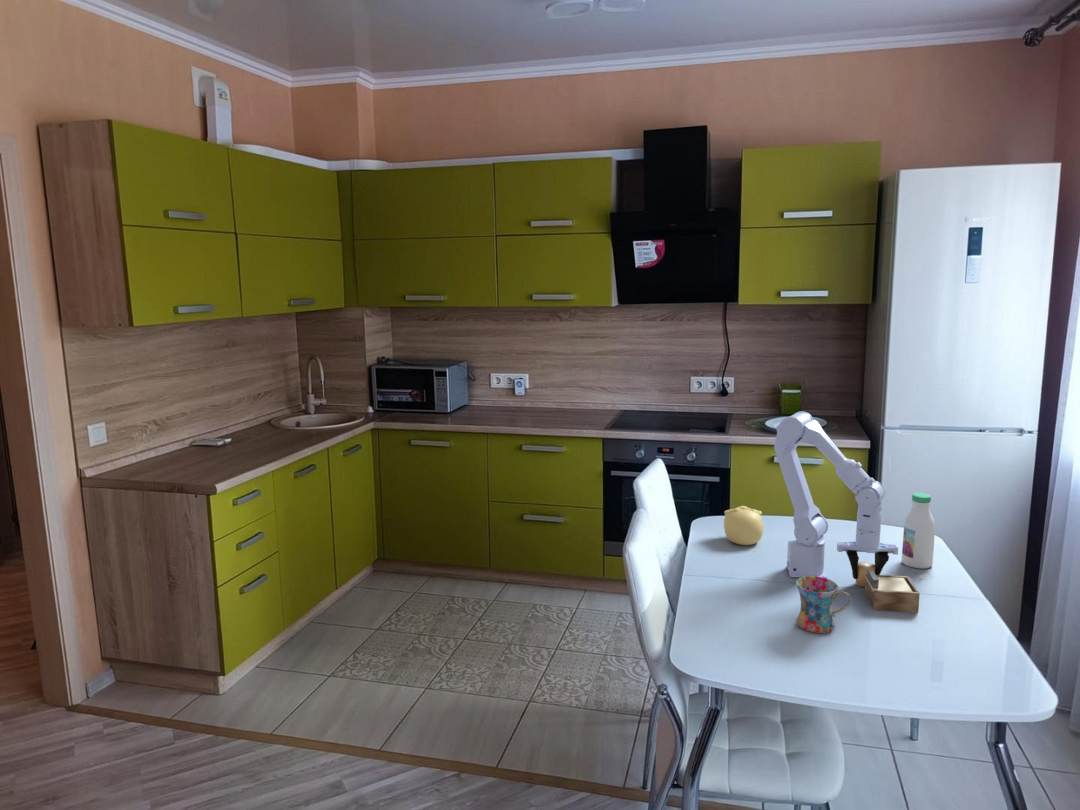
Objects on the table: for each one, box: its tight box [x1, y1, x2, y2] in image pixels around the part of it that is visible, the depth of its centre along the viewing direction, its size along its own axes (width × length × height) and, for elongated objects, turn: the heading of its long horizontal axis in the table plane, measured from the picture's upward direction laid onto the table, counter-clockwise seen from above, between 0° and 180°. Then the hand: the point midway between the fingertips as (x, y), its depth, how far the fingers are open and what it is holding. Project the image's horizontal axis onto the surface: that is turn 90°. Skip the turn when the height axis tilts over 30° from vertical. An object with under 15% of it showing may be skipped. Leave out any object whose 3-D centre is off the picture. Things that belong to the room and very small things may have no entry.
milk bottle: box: [901, 492, 936, 570], centre depth 211 cm, size 8×8×20 cm
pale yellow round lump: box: [723, 505, 764, 546], centre depth 232 cm, size 11×12×11 cm
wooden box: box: [864, 574, 921, 613], centre depth 190 cm, size 10×10×5 cm
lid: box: [865, 569, 913, 592], centre depth 190 cm, size 9×8×3 cm
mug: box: [795, 576, 852, 634], centre depth 178 cm, size 12×9×11 cm
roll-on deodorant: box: [855, 561, 876, 588], centre depth 200 cm, size 5×5×5 cm
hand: (865, 578), depth 200 cm, fingers closed on roll-on deodorant, 5 cm apart
